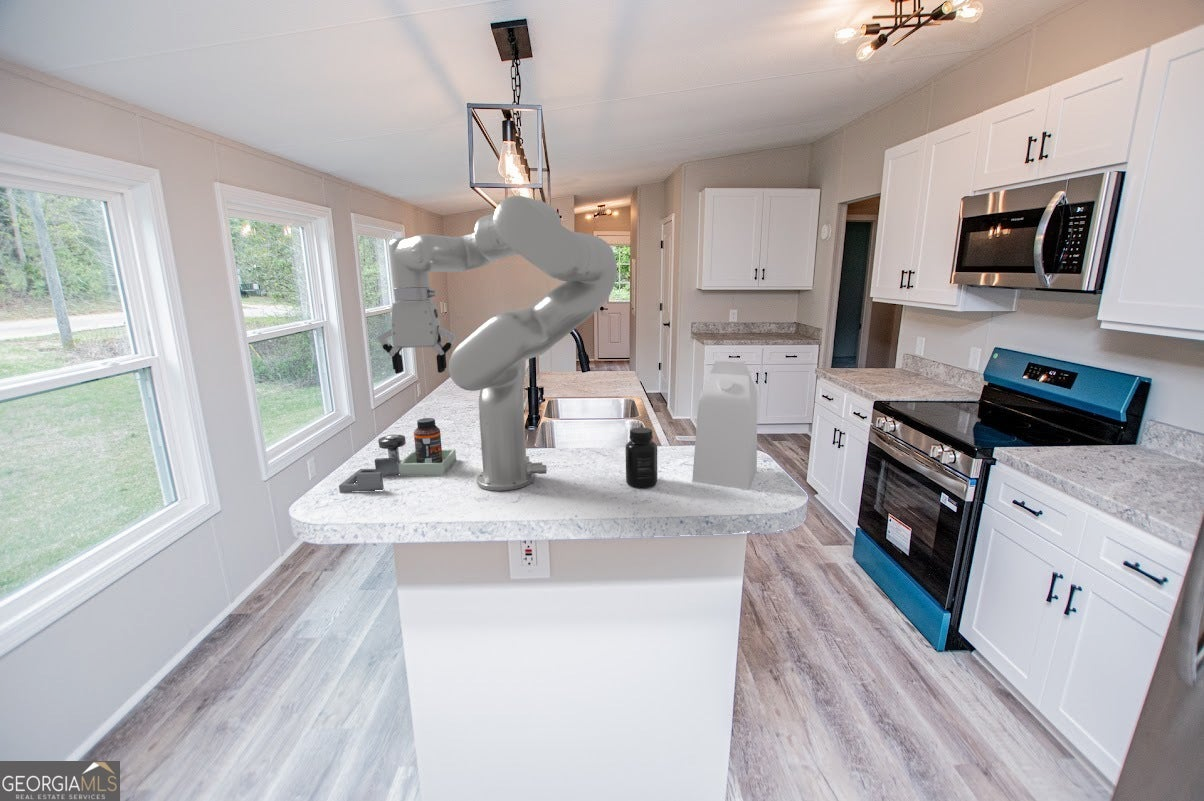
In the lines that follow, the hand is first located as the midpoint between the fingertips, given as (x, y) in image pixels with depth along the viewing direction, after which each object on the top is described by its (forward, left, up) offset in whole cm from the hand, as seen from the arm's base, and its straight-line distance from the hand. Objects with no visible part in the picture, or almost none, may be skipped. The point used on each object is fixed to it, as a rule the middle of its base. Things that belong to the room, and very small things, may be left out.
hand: (420, 372), depth 116 cm
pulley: (+9, -2, -23) cm, 25 cm away
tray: (0, 0, -23) cm, 23 cm away
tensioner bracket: (+10, +9, -23) cm, 27 cm away
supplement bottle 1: (0, 0, -23) cm, 23 cm away
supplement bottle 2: (-50, +12, -24) cm, 56 cm away
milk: (-69, +9, -24) cm, 73 cm away
